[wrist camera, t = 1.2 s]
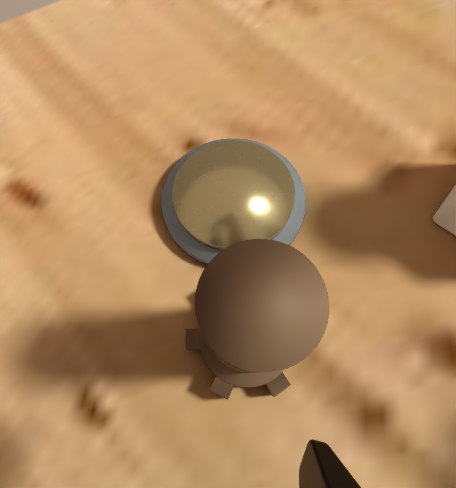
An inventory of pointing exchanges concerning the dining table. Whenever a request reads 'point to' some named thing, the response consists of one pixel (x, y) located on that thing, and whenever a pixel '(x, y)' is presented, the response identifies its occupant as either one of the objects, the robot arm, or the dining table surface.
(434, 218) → the medicine bottle
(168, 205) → the plate
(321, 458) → the robot arm
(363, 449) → the dining table surface
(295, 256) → the gear spindle
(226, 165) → the hub
